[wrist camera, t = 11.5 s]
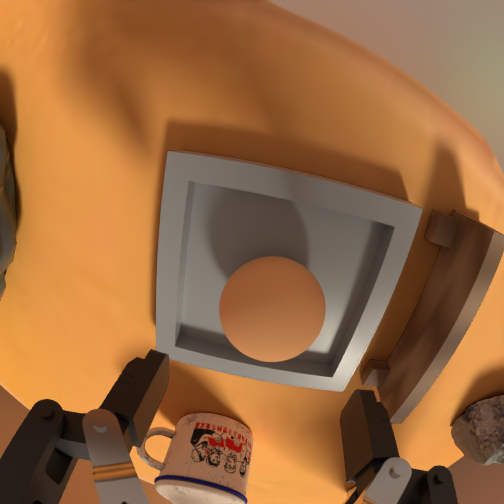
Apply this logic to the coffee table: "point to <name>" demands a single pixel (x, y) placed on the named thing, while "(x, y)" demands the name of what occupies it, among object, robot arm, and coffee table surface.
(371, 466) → the robot arm
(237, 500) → the teacup with lid
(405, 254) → the tray
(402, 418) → the fence
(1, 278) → the bonsai tree
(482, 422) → the mineral rock
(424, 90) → the coffee table surface
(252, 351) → the ball
